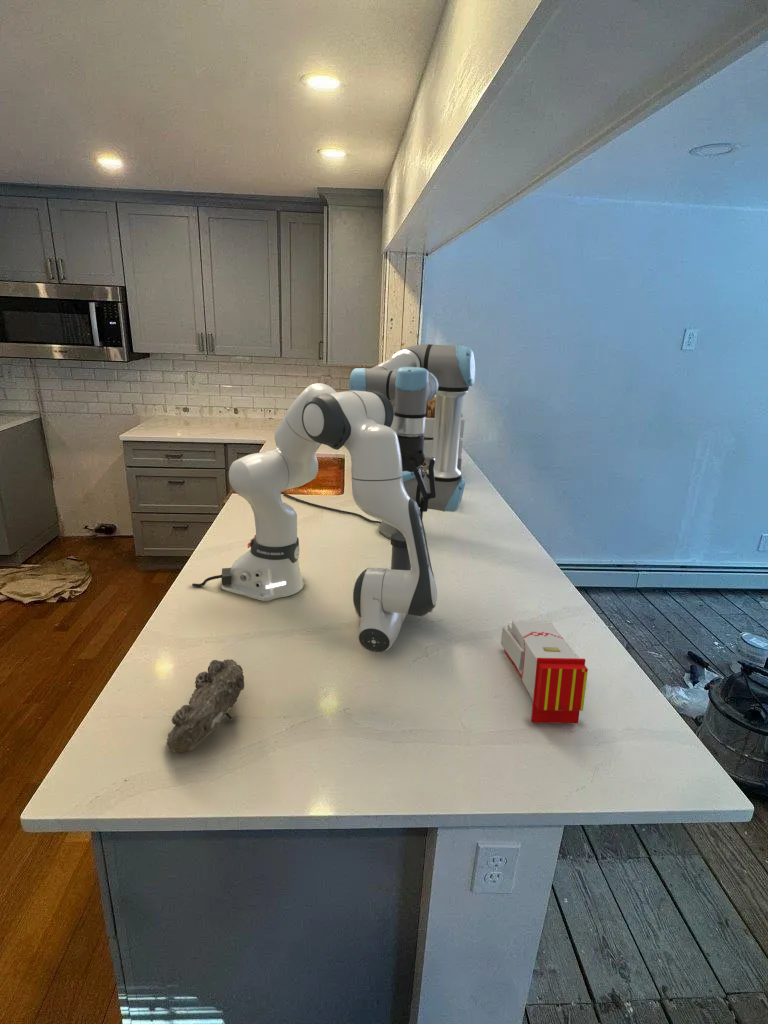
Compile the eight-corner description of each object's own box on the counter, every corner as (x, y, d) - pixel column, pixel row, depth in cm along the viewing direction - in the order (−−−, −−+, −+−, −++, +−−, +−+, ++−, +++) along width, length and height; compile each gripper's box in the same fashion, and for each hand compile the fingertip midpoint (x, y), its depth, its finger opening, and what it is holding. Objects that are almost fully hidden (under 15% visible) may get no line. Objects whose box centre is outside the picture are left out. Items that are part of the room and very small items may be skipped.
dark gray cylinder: (390, 609, 150) (394, 542, 143) (387, 600, 154) (390, 534, 148) (410, 608, 150) (414, 541, 144) (406, 599, 155) (410, 534, 149)
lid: (392, 549, 143) (393, 541, 142) (388, 539, 149) (389, 532, 148) (416, 548, 144) (417, 540, 143) (411, 539, 150) (412, 531, 149)
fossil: (192, 660, 117) (244, 628, 112) (224, 691, 120) (276, 661, 115) (142, 746, 98) (202, 712, 93) (182, 779, 101) (242, 748, 96)
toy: (547, 606, 135) (596, 665, 106) (541, 658, 138) (589, 729, 108) (496, 604, 134) (532, 664, 105) (492, 657, 137) (526, 729, 108)
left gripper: (432, 602, 135) (440, 577, 148) (350, 589, 139) (364, 566, 152) (430, 625, 137) (438, 598, 150) (349, 612, 141) (363, 587, 154)
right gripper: (452, 433, 139) (444, 519, 147) (368, 427, 141) (365, 513, 149) (451, 439, 132) (444, 530, 140) (364, 433, 134) (361, 523, 142)
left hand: (400, 582), depth 151 cm, fingers open, 6 cm apart
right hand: (403, 521), depth 144 cm, fingers open, 8 cm apart
